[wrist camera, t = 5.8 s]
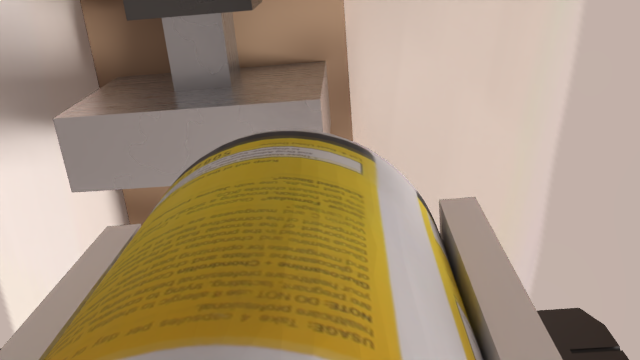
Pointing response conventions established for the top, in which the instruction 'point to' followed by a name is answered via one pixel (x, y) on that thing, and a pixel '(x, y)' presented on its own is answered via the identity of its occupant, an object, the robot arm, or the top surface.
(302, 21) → the vise bed
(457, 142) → the top surface
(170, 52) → the sliding jaw
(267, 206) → the pill bottle
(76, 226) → the top surface
